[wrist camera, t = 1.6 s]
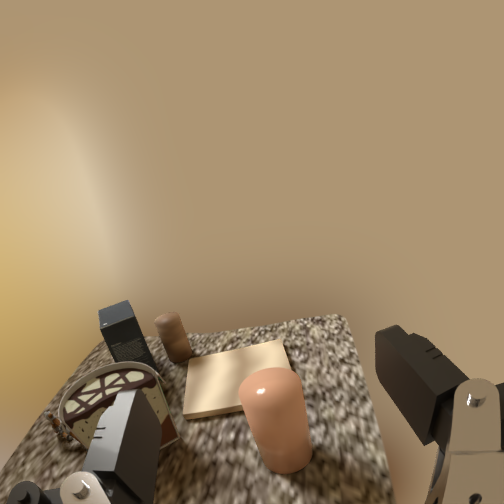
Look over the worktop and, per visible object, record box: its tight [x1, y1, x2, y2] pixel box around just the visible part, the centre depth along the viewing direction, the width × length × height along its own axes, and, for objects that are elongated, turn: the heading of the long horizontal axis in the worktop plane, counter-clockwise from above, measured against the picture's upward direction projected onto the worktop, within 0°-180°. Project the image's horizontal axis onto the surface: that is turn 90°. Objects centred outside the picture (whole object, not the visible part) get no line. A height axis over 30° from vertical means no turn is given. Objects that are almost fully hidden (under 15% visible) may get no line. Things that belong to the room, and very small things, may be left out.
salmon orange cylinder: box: [238, 367, 313, 474], centre depth 24 cm, size 5×5×10 cm
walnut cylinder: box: [154, 312, 193, 363], centre depth 46 cm, size 4×4×7 cm
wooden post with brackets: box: [44, 412, 88, 451], centre depth 30 cm, size 2×8×4 cm, turn 76°
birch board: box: [183, 339, 291, 420], centre depth 39 cm, size 14×12×1 cm
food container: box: [58, 362, 181, 450], centre depth 28 cm, size 12×6×10 cm, turn 130°
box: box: [98, 300, 159, 374], centre depth 44 cm, size 8×6×11 cm
